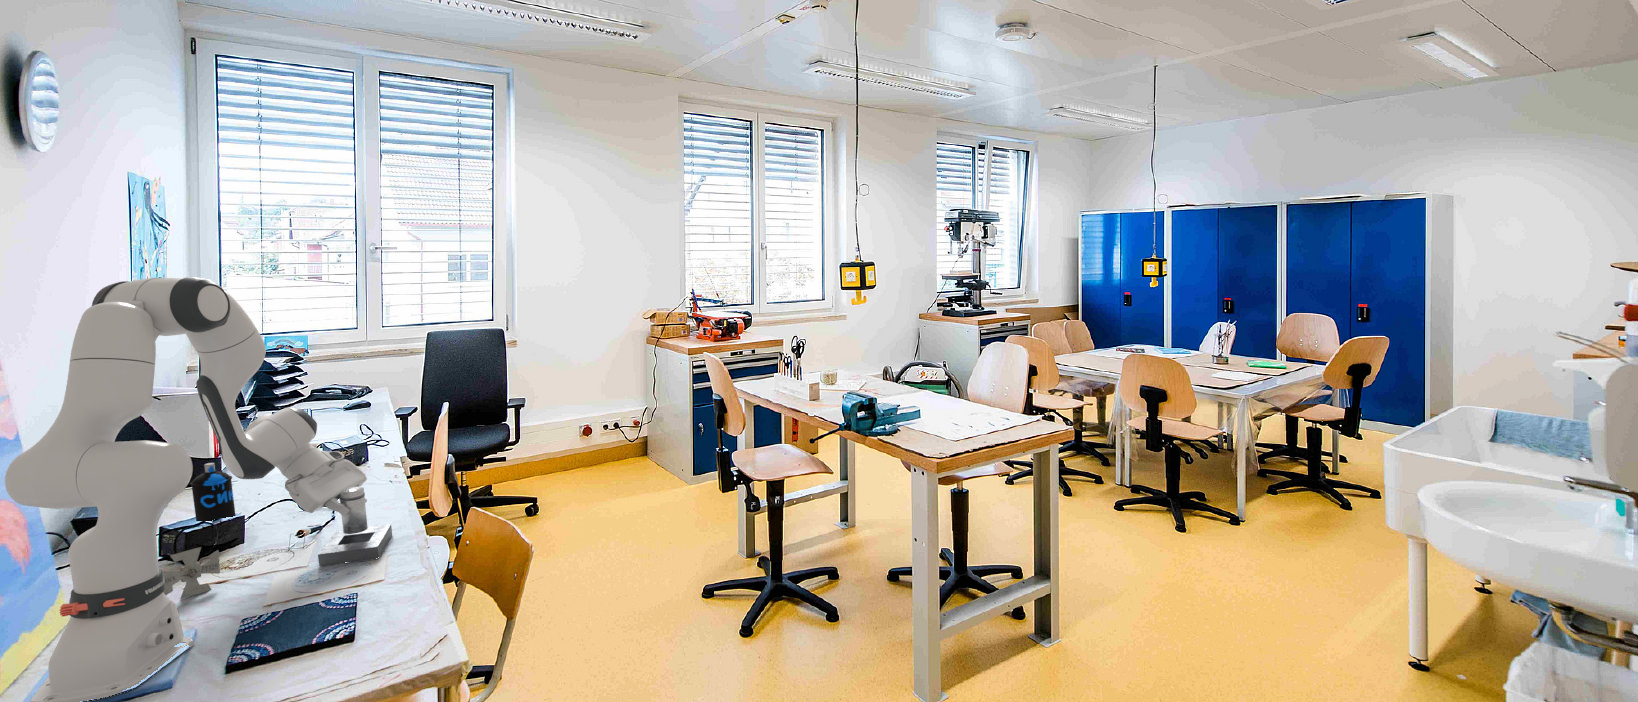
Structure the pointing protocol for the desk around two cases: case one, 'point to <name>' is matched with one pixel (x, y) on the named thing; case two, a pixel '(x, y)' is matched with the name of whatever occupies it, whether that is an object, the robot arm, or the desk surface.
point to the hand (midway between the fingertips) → (356, 508)
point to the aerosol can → (213, 495)
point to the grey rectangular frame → (355, 546)
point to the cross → (191, 572)
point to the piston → (354, 510)
